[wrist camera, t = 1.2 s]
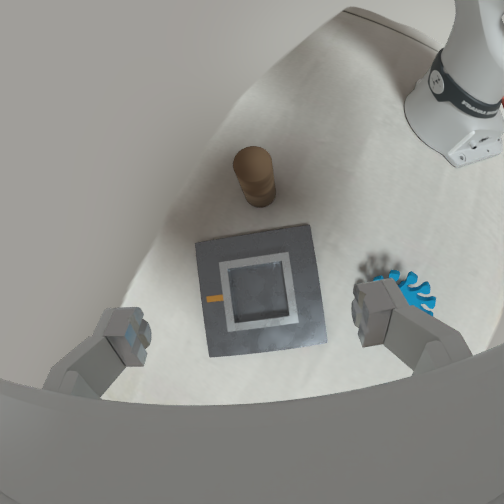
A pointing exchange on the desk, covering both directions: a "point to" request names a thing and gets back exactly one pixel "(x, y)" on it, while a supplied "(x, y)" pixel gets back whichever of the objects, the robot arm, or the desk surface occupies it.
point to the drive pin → (255, 175)
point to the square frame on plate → (260, 292)
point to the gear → (413, 290)
